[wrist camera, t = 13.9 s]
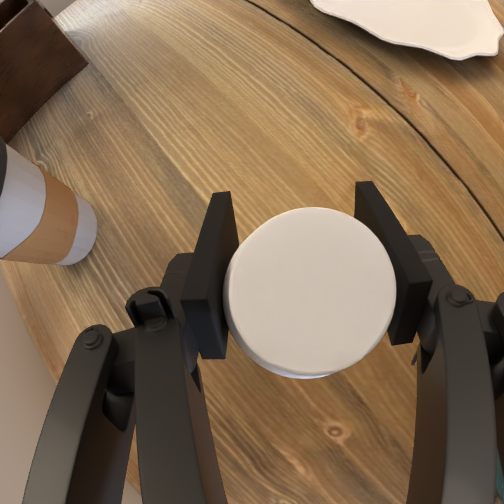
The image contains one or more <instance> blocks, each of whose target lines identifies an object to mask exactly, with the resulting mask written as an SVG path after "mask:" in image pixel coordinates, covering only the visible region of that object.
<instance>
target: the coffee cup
mask: <svg viewBox="0 0 504 504" xmlns="http://www.w3.org/2000/svg"><path fill="white" fill-rule="evenodd" d="M97 229H98V224H97V218H96V215H95V212H94V210H93V207H92V206H91V205H90V204H89V202H87V201H86V200H84V199H83V198H82V197H80V196H79V195H77V194H76V193H74V192H73V191H72V190H71V189H70V188H68V187H67V186H66V185H64V184H63V183H61V182H60V181H59V180H57V179H56V178H54V177H53V176H52V175H50V174H49V173H47V172H46V171H45V170H43V169H42V168H40V167H39V166H37V165H36V164H34V163H32V162H30V161H29V160H27V159H26V158H25V157H23V156H22V155H20V154H19V153H18V152H16V151H15V150H14V149H12V148H11V147H10V146H8V145H7V144H6V143H5V142H4V140H3V138H2V137H1V136H0V259H1V260H10V261H19V262H28V263H38V264H57V265H72V264H74V263H77V262H78V261H80V260H82V259H83V258H84V257H85V256H87V254H88V253H89V252H90V251H91V249H92V247H93V245H94V243H95V240H96V236H97Z"/></svg>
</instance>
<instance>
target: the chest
mask: <svg viewBox="0 0 504 504" xmlns="http://www.w3.org/2000/svg"><path fill="white" fill-rule="evenodd" d="M87 64H88V62H87V61H86V59H85V58H84V57H83V55H82V54H81V53H80V51H79V50H78V49H77V47H76V46H75V45H74V43H73V42H72V41H71V39H70V38H69V36H68V35H67V34H66V32H65V31H64V30H63V29H62V27H61V26H60V25H59V24H58V22H57V21H56V20H55V19H54V18H53V16H52V15H51V14H50V13H49V12H48V10H47V9H46V8H45V7H44V5H43V4H42V3H41V2H40V1H39V0H3V1H2V2H1V3H0V136H1V137H2V138H3V140H4V142H5V143H6V144H8V142H9V141H10V140H11V139H12V138H13V137H14V135H15V134H16V133H17V132H18V131H19V130H20V129H21V127H22V126H23V125H24V124H25V123H26V122H27V121H28V120H29V119H30V118H31V117H32V116H33V114H34V113H35V112H36V111H37V110H38V109H39V108H40V107H41V106H42V105H43V104H44V103H45V102H46V101H47V100H48V99H49V98H50V97H51V96H52V95H53V94H54V93H56V92H57V91H58V90H59V89H60V88H61V87H62V86H63V85H64V84H65V83H66V82H67V81H69V80H70V79H71V78H72V77H73V76H74V75H75V74H77V73H78V72H79V71H80V70H81V69H82V68H84V67H85V66H86V65H87Z"/></svg>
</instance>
